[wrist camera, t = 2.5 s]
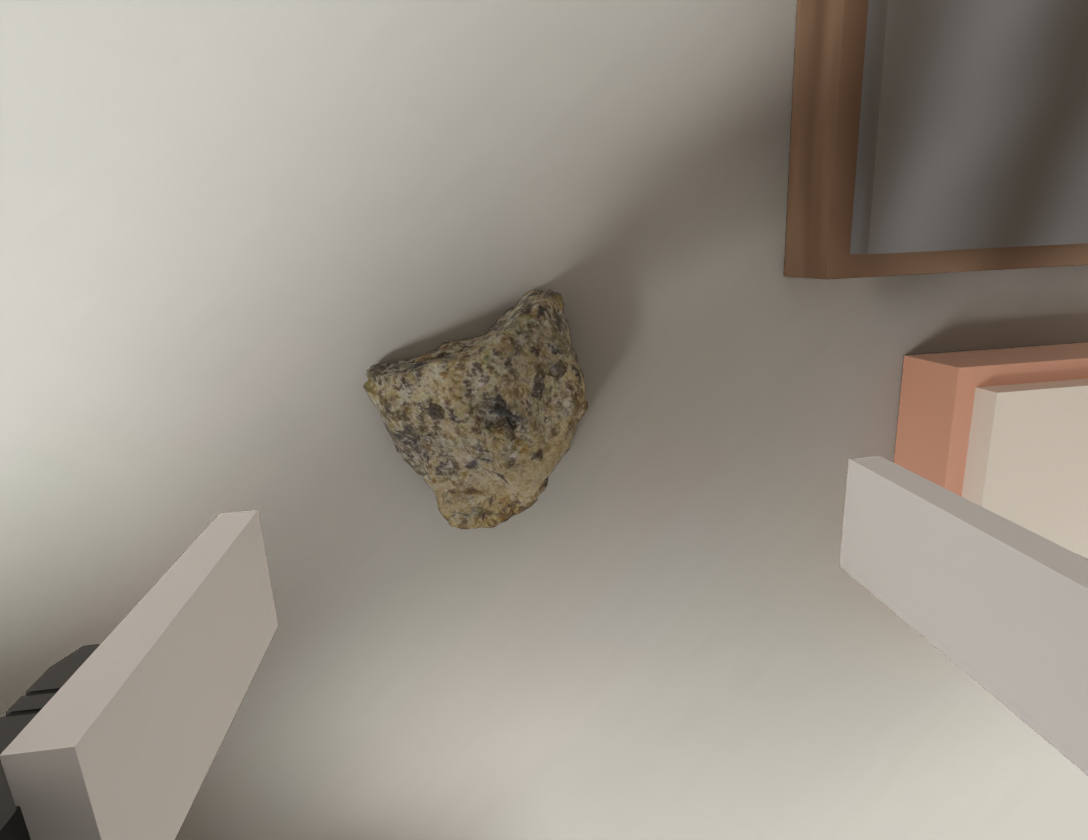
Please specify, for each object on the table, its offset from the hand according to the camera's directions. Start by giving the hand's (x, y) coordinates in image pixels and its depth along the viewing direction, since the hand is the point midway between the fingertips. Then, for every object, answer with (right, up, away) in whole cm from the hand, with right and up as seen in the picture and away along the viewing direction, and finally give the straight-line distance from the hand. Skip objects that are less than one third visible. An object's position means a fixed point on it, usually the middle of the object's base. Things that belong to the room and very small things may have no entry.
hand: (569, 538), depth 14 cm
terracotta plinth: (+20, 0, +15) cm, 25 cm away
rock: (-3, +4, +11) cm, 12 cm away
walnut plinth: (+15, +16, +10) cm, 24 cm away
